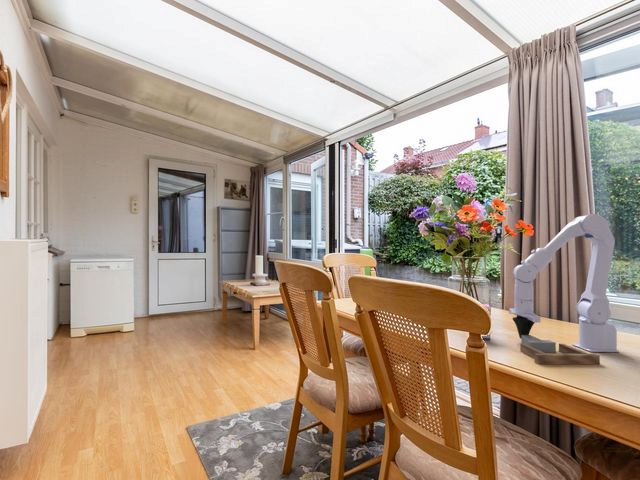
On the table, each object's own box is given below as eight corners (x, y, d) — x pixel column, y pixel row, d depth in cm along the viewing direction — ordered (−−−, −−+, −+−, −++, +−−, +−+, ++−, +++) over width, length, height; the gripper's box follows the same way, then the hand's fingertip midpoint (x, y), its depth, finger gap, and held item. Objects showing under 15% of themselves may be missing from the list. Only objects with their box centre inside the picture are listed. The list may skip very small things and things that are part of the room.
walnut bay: (569, 351, 109) (569, 343, 109) (599, 364, 98) (599, 355, 98) (514, 351, 109) (514, 343, 109) (537, 364, 97) (537, 355, 98)
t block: (537, 343, 118) (537, 335, 118) (555, 352, 109) (555, 342, 109) (514, 343, 117) (514, 334, 117) (530, 351, 108) (530, 342, 108)
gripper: (501, 296, 126) (500, 333, 126) (525, 303, 111) (525, 344, 111) (519, 296, 126) (519, 333, 126) (546, 303, 112) (546, 344, 111)
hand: (523, 338), depth 119 cm, fingers closed
